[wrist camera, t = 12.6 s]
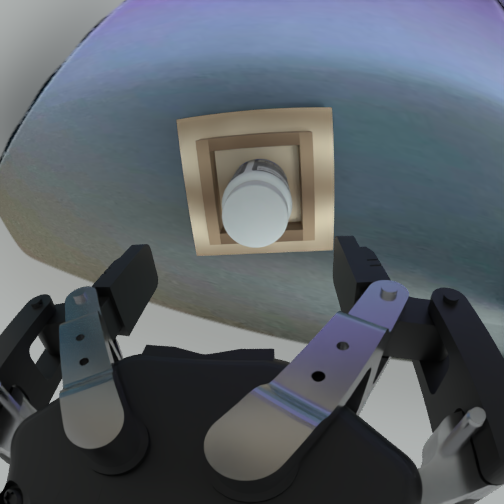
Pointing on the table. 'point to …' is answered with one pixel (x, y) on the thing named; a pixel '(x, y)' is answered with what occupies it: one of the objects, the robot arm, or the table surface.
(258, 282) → the table surface
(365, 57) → the table surface
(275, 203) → the pill bottle
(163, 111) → the table surface
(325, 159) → the wooden base
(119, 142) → the table surface
